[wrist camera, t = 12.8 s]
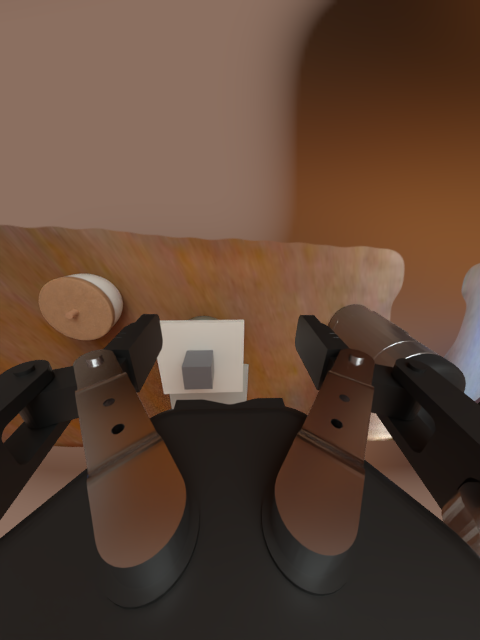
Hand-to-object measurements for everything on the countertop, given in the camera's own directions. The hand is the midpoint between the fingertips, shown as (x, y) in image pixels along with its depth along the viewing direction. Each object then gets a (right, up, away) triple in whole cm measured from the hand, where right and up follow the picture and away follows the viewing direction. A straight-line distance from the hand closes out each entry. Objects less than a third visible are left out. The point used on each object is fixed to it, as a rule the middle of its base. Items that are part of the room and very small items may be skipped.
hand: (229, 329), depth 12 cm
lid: (-6, -6, +26) cm, 27 cm away
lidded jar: (-26, +5, +28) cm, 38 cm away
